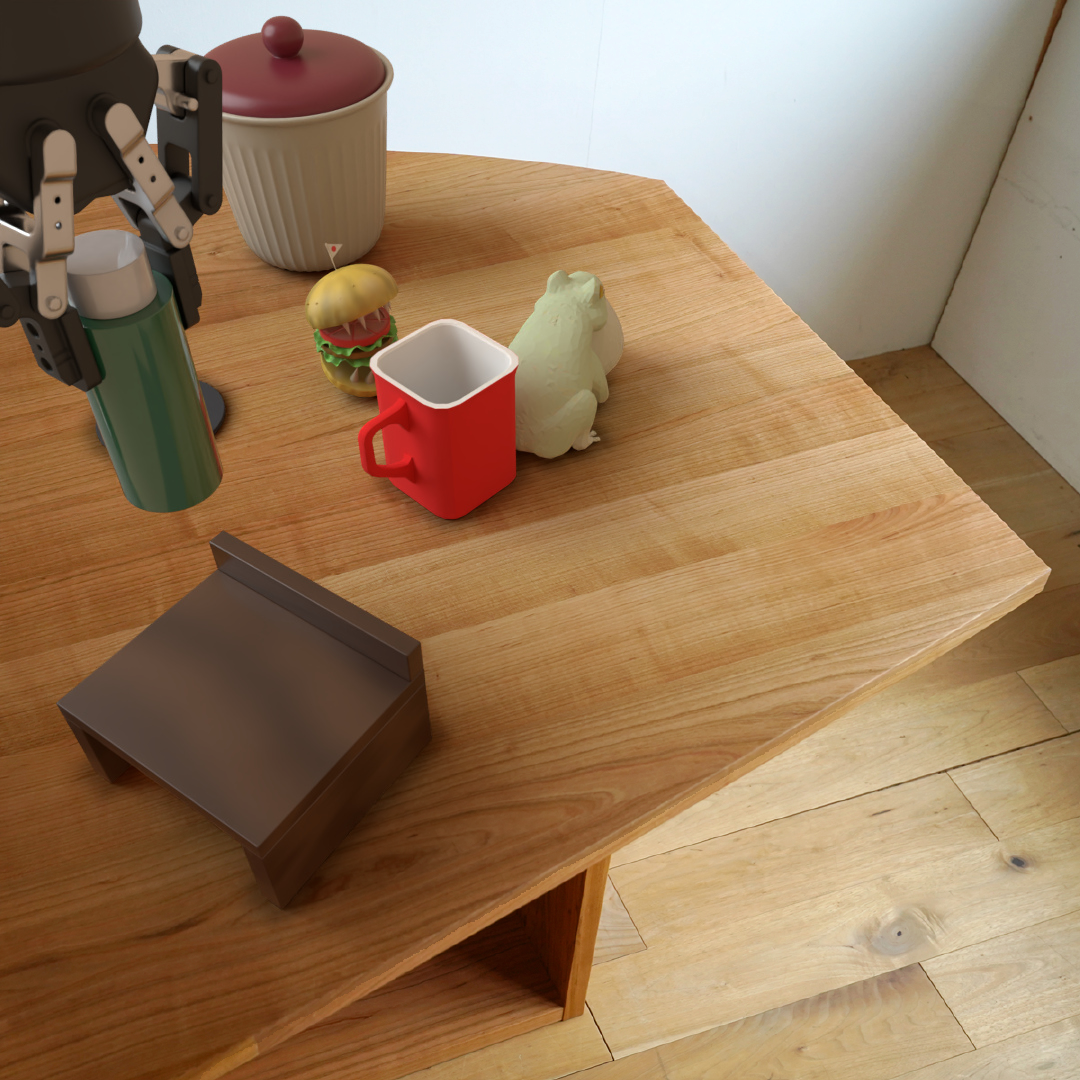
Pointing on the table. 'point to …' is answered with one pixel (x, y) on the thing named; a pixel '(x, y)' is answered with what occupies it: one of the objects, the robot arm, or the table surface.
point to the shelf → (261, 711)
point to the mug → (444, 417)
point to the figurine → (564, 364)
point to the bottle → (142, 375)
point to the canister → (304, 143)
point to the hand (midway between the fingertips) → (129, 348)
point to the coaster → (213, 407)
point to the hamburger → (352, 322)
